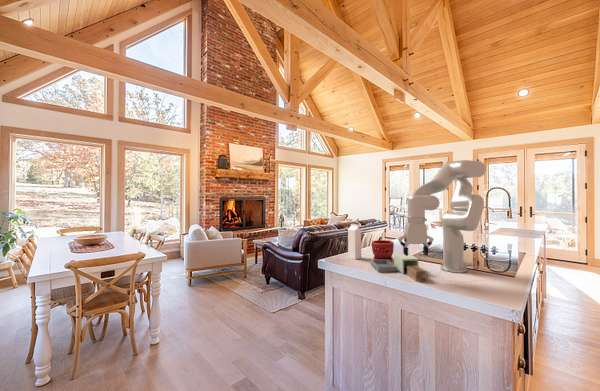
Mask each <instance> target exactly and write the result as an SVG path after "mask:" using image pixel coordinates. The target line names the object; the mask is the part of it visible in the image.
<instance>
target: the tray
mask: <svg viewBox="0 0 600 391" xmlns="http://www.w3.org/2000/svg"><path fill="white" fill-rule="evenodd" d="M370 265H371V267H373V268H374V270H375V271H376V272H378V273H397V272H398V270H397V266H395V265H394V262H392V261H389V260H387V259H385V260H375V259H370Z"/></svg>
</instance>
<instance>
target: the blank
mask: <svg viewBox="0 0 600 391" xmlns="http://www.w3.org/2000/svg"><path fill="white" fill-rule="evenodd" d="M418 266H419V265H418ZM418 266H417V265H416V266H407V267H406V275H407V276H408V277H409V278H410V279H411V280H413V281H415V282H416V281H423V282H427V271H426V270H425V269H423V268H422V267H420V266H419V267H418Z"/></svg>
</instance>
